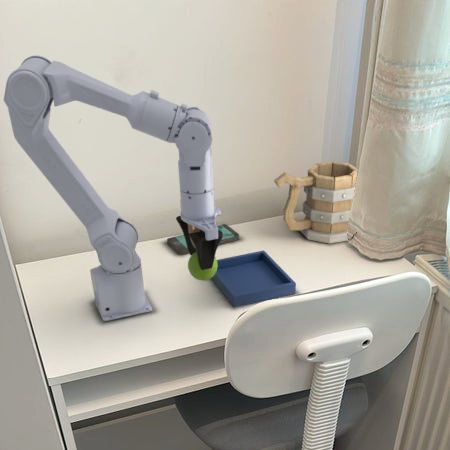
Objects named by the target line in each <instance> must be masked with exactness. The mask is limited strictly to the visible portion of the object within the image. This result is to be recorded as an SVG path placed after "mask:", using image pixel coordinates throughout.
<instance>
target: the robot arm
mask: <svg viewBox="0 0 450 450" xmlns="http://www.w3.org/2000/svg"><path fill="white" fill-rule="evenodd" d="M159 95H160V93H159V92H158V91H156V90H154V89H151V90H150V92H147V91H144V90H143V91H140V92H138V93H136V94H129V93H127V92H126V91H123V90H121V89H119V88H116V87H114V86H112V85H110V84H108V83H106V82H104V81H102V80H99V79H97V78H95V77H92V76H91V75H88V74H86V73H84V72H81V71H79V70H77V69H76V68H73V67H71V66H69V65H67V64H65V63H64V62H61V61H56V60H52V61H51V60H50V59H48V58H47V57H45V56H41V55H37V54H36V55H30V56H28V57H26V58H25V59H24V60H23V61H22V63H21V64H20V65H19V66H18V67H17V68H16V69H14V70H13V71H12V72H11V73H10V74H9V75H8V77H7V79H6V82H5V90H4V94H3V102H4V104H5V105H6V107H7V110H8V116H9V119H10V124H11V129H12V133H13V137H14V139H15V141H16V142H17V144H18V145H19V146H20V147H21V149H22V150H23V151H24V153H25V154H26V155H27V156H28V157H29V159H31V161H32V162H33V163H34V165H35V166H36V167H37V169H38V170H39V171H40V172H41V174H42V175H43V177H45V178H46V180H47V181H48V182H49V183H50V185H51V187H53V188H54V190H55V191H56V192H57V194H58V195H59V197H61V199H62V200H63V201H64V202H65V203H66V205H67V206H68V207H69V209H70V210H71V212H73V213H74V214H75V216H76V217H77V219H78V220H79V221H80V222H81V223H82V225H83V226H84V228H85V229H86V231H87V235H88V239H89V242H90V244H91V246H92V248H93V249H94V250H95V252H96V255H97V258H98V262H99V265H98V266H96V267H93V268H90V270H89V272H90V279H91V284H92V285H91V286H92V291H93V295H94V296H93V297H94V298H93V299H94V303H95V307H96V308H97V310H98V313H99V314H100V317H101V319H102V321H103V322H109V321H113V320H118V319H122V318H126V317H131V316H136V315H140V314H141V315H142V314H145V313H149V312H152V311H153V307H152V305H151V303H150V302H149V300H148V298H147V296H146V291H145V284H144V275H143V267H142V260H141V257H140V255H138V252H137V251H136V248H137V244H138V241H139V232H138V230H137V227H136V226H135V225H134V224H133V223H131V222H130V221H128V220H126V219H125V218H123V217H122V215H120V213H119V212H118V211H117V210H115V209H113V208H111V207H109V206H108V205H107V204H106V202H105V201H104V199H103V198H102V197H101V196H100V194H99V193H98V192H97V190H96V189H95V188H94V187H93V185H92V184H91V183H90V182H89V180H88V179H87V177H86V176H85V174H84V173H83V172H82V171H81V170H80V168H79V167H78V166H77V164H76V163H75V162H74V160H73V159H72V158H71V156H70V155H69V154H68V153H67V151H66V150H65V148H64V147H63V146H62V145H61V143H60V142H59V141H58V139H57V138H56V137H55V135H54V134H53V133H52V131H51V130H50V129H49V126H50V117H51V110H52V109H51V107H52V105H53V106H54V108H55V107H60V106H62V105H66V104H68V103H71V102H75V101H76V102H80V103H82V104H85V105H89V106H91V107H95V108H98V109H101V110H104V111H106V112H109V113H112V114H114V115H115V114H116V115H119V116H121V117H124V118H126V119H127V121H128V123H129V125H130V127H131V129H133V130H135V131H138V132H139V133H143V134H145V135H148V136H151V137H153V138H156V139H159V140H161V141H163V142H167V143H169V144H175V146H176V148H177V149H178V158H179V159H178V160H177V167H178V168H177V169H178V178H179V179H178V180H179V194H180V200H179V202H180V215H178V216H176V218H175V221H176V222H177V223H178V225H179V227H180V229H181V231H182V235H183V234H184V237H185V240H186V244H187V248H188V251H189V253H188V254H189V255H190V256H191V255H192V254H193V253H195V252H197V257H198V262H199V266H200V268H201V270H205V269H210V268H212V267H213V263H214V258H216V253H217V249H218V247H219V246H220V245H219V243H220V241H221V239H222V238H223V233H222V232H221V230H218V228H217V226H218V225H217V216H221V215H222V210H221V209H220V208H219V207H218V206H215V189H214V185H215V184H214V165H213V164H214V161H213V158H212V154H213V152H212V147H211V146H212V144H213V135H212V123H211V120H210V118H209V116H208V115H207V113H206V112H205V111H203V110H201V108H199V107H198V106H189V107H188V105H187V104H184V103H181V104H180V105H178V104H176V103H175V102H171V101H169V100H167V99H164V98H162V97H159ZM187 223H188V224H190V225H192V226H194V228H195V227H196V228H198V229H200V232H194V233H189V231H188V224H187ZM190 238H191V239H190ZM191 240H192V241H193V243H194V246H195V247H194V246H193V244H192V242H191Z"/></svg>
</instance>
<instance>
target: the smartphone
mask: <svg viewBox="0 0 450 450" xmlns="http://www.w3.org/2000/svg"><path fill="white" fill-rule="evenodd" d="M216 226H217V228H218V230H221V232H222V233H223V238H222V239H221V241H220V243H219V245H218V246H220V245H224V244H228V243H231V242H235V241H239V240H240V234H239V233H238V232H237V231H235V230H234V229H233V228H231V226H229V225H228V224H227V223H223V224H219V225H216ZM166 244H167V245H168V246H169V247H170V249H172V250H173V251H174V252H175V253H176V254H177V255H179V256H183V255H187V254H190V253H189V251H188V248H187V244H186V240H185V237H184V234H183V233H182V234H180V235H175V236H171V237H168V238H167V239H166Z"/></svg>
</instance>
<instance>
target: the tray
mask: <svg viewBox="0 0 450 450" xmlns="http://www.w3.org/2000/svg"><path fill="white" fill-rule="evenodd" d="M216 260H217V264H218V267H217V271H216V273H215V275H214V276H213V277H212V278H211V279H212V281H213V282H214V283H215V285H216V286H217V287H218V289H219V290H220V291H221V293H222V294H223V296H224V297H225V298H226V299H227V300H228V302H229V303H230V305H232V307H233V308H237V307H242V306H246V305H250V304H255V303H259V302H260V303H261V302H264V301H269V300H274V299H278V298H283V297H286V296H291V295H296V290H297V289H296V287H297V283H296V282H295V280H294V279H292V277H291V276H290V275H288V274H287V272H286V271H284V269H283V268H282V267H281V266H280V265H279V264H278V263H277V262H276V261H275V260H274V259H273V258H272V257H271V256H270V255H269V253H267V252H266V251H265V250H259V251H254V252H248V253H244V254H240V255H235V256H234V255H233V256H229V257H224V258H219V259H216Z"/></svg>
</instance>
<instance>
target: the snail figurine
mask: <svg viewBox="0 0 450 450" xmlns="http://www.w3.org/2000/svg"><path fill="white" fill-rule="evenodd" d="M187 224H188V223H187ZM188 231H189V233H194V232H200V229H198V228H196V227H195V228H194V226H192V225H190V224H188ZM190 239H191V238H190ZM191 242H192V244H193V246H194V243H193V241H192V240H191ZM194 247H195V246H194ZM217 260H218V259H217V258H216V257H215V258H214V263H213V267H212V268H210V269H205V270H201V268H200V266H199V262H198V257H197V252H195V253H193V254H192V255H190V257H189V259H188V261H187V269H188V272H189V274H190V275H191V276H192V278H194V279H195V280H198V281H208V280H210V279H212V277H213V276H214V275H215V273H216V271H217V267H218V264H217Z"/></svg>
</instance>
